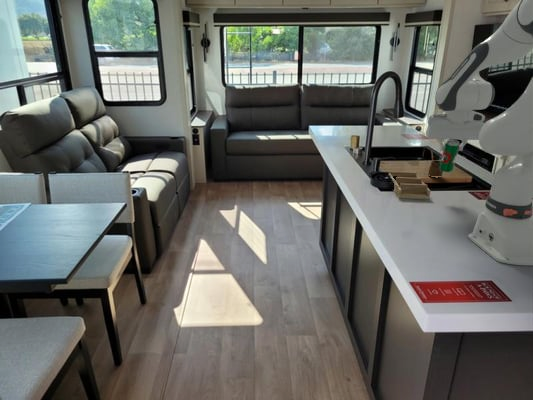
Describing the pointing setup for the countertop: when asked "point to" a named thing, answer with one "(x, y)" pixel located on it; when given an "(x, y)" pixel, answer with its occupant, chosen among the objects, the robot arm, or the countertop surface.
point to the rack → (409, 185)
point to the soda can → (449, 156)
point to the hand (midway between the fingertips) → (450, 150)
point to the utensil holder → (435, 168)
